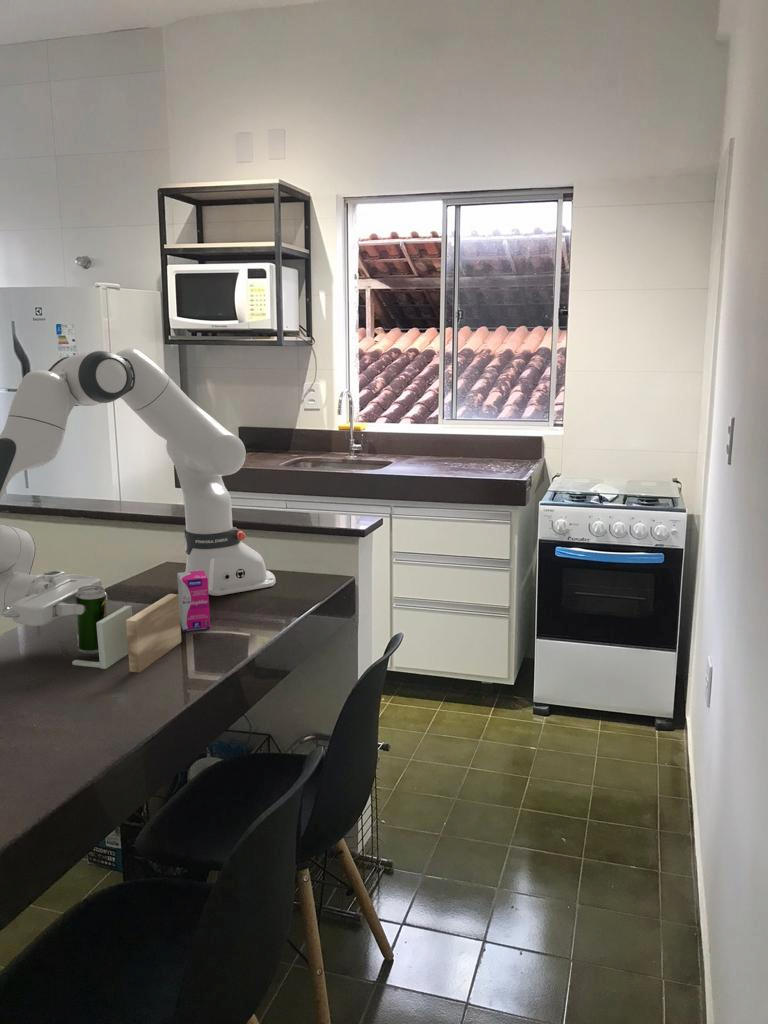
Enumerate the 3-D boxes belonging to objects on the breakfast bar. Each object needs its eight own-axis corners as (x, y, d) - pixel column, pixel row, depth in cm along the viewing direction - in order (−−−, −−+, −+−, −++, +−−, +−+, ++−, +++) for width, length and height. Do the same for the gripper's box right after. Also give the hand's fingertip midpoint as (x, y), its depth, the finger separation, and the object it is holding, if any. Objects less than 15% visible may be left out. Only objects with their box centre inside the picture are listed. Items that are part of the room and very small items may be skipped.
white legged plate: (71, 665, 159) (67, 619, 157) (102, 646, 169) (98, 603, 167) (105, 669, 157) (102, 623, 155) (134, 649, 167) (131, 606, 165)
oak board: (129, 671, 156) (125, 620, 154) (172, 640, 171) (169, 593, 169) (139, 672, 156) (135, 621, 153) (181, 641, 171) (178, 594, 169)
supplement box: (182, 632, 176) (179, 579, 173) (179, 623, 181) (176, 572, 179) (210, 629, 178) (208, 577, 175) (206, 620, 183) (204, 569, 181)
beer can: (80, 655, 159) (79, 595, 157) (74, 645, 164) (73, 586, 161) (109, 651, 162) (108, 592, 159) (103, 641, 167) (102, 583, 164)
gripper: (-7, 598, 154) (59, 604, 150) (63, 567, 173) (123, 573, 170) (-3, 630, 155) (62, 638, 152) (65, 597, 174) (125, 603, 171)
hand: (95, 603), depth 161 cm, fingers closed on beer can, 5 cm apart
